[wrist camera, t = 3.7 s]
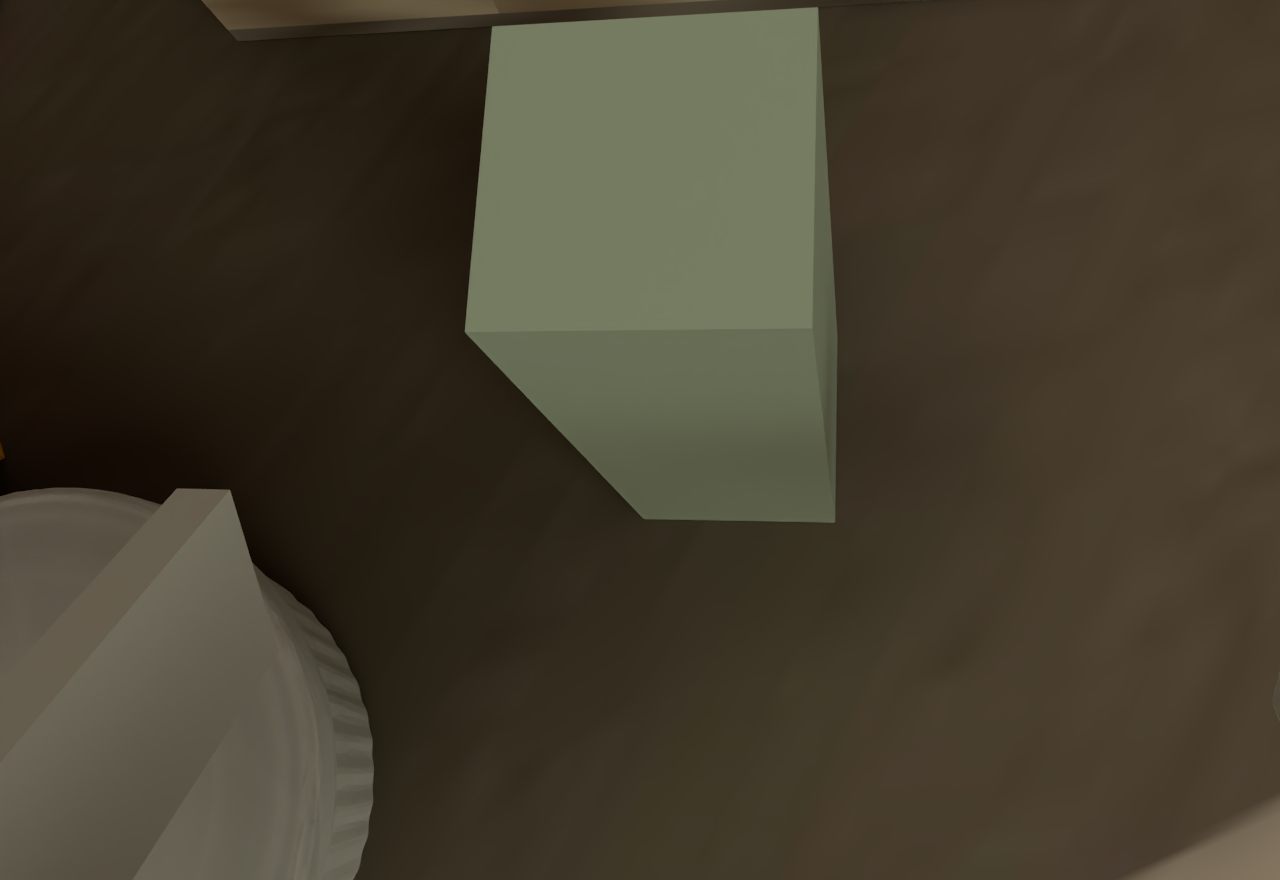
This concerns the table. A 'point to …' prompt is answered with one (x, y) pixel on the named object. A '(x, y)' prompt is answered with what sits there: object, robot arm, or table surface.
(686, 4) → the block with square hole
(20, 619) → the ramekin
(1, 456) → the bracket
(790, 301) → the peg
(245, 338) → the table surface
